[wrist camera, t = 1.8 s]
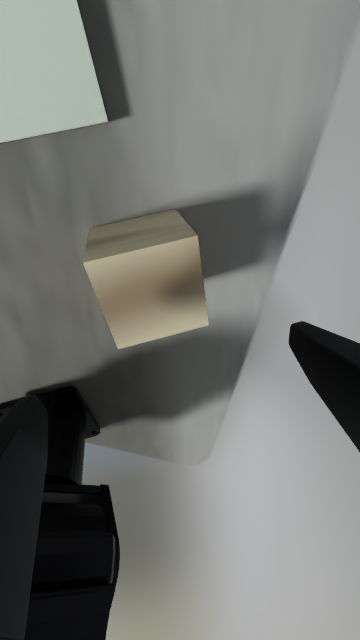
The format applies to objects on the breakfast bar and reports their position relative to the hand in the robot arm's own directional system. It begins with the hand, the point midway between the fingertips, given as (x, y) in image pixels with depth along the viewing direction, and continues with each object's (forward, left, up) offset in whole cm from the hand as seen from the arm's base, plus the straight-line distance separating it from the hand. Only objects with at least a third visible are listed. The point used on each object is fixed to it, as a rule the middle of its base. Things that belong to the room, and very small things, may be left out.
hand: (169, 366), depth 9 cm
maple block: (0, 0, -10) cm, 10 cm away
